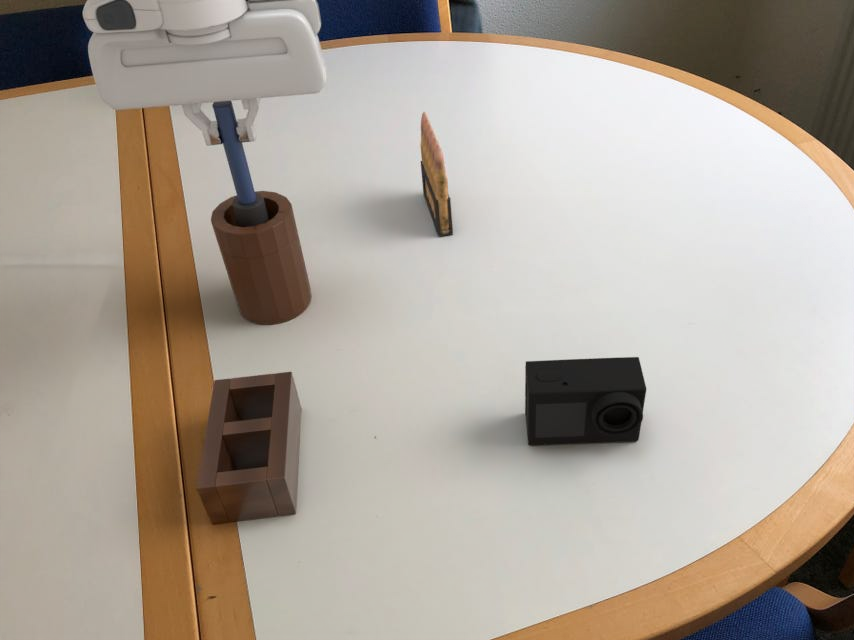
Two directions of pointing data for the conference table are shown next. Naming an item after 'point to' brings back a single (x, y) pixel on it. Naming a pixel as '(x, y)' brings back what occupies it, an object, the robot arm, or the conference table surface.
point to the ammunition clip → (435, 180)
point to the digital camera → (584, 400)
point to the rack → (251, 449)
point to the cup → (264, 261)
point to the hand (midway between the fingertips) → (231, 141)
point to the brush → (239, 170)
